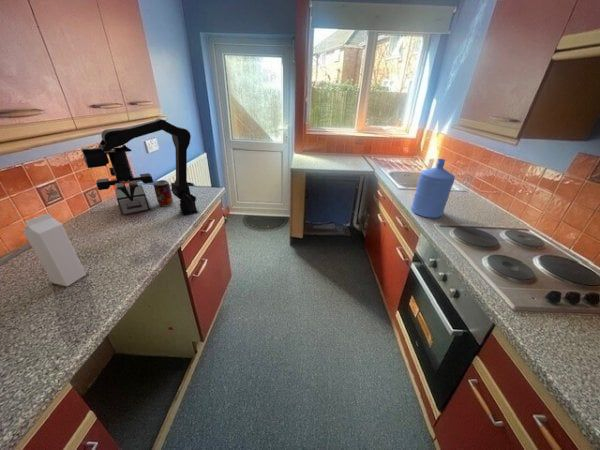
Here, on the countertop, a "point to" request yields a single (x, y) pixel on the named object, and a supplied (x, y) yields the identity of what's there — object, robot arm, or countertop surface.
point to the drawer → (133, 204)
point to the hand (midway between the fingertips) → (131, 200)
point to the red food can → (163, 192)
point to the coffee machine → (137, 192)
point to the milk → (54, 249)
